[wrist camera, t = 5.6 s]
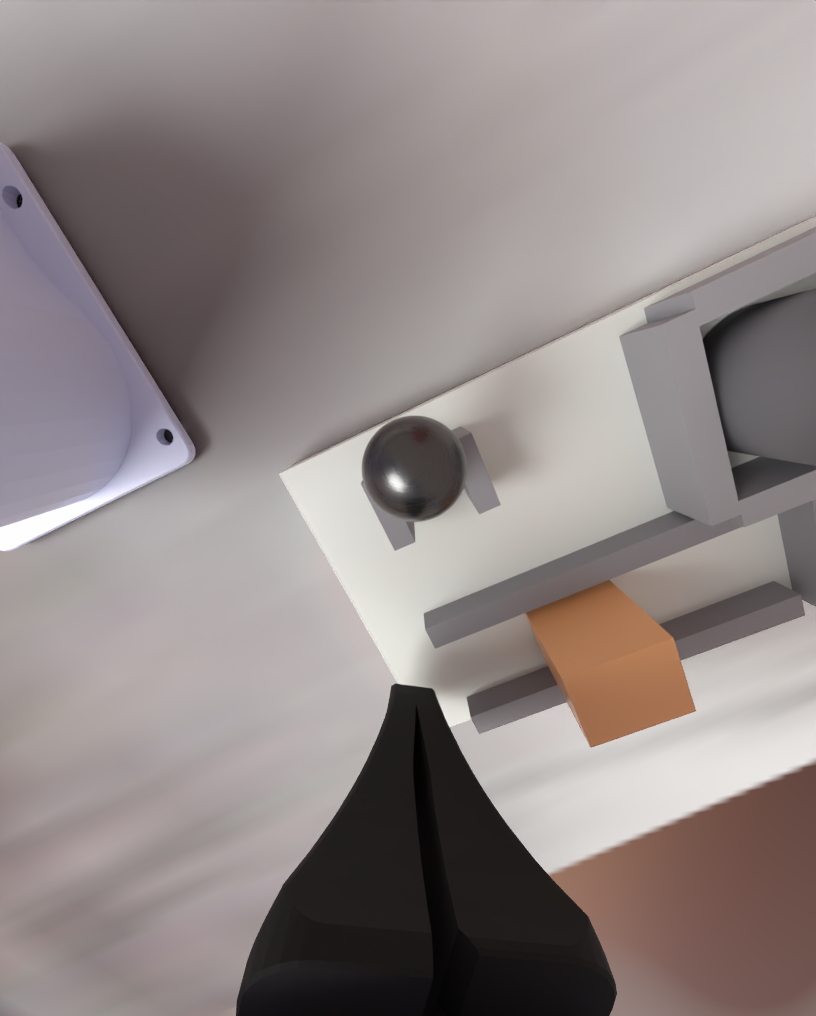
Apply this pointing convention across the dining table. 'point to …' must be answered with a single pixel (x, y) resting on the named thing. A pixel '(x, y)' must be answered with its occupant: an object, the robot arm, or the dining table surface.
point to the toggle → (414, 468)
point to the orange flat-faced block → (611, 662)
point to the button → (767, 378)
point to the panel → (580, 500)
